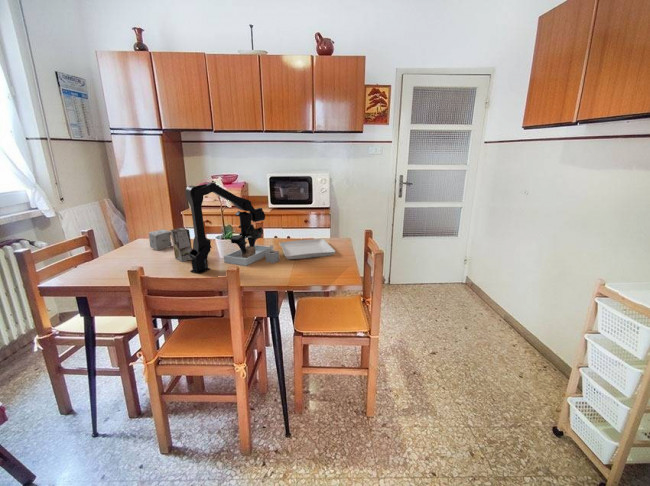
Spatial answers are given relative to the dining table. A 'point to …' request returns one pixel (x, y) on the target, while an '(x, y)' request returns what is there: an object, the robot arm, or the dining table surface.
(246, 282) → the dining table surface
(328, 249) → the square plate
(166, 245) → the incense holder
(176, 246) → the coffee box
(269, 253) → the gauged block
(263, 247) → the tray
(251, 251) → the walnut block
